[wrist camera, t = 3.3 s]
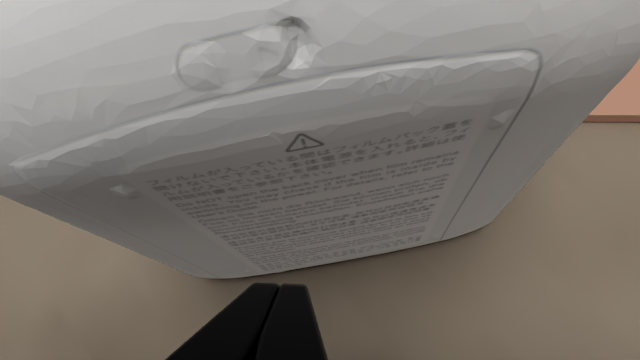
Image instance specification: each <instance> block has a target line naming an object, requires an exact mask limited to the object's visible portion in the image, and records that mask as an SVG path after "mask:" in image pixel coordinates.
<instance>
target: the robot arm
mask: <svg viewBox="0 0 640 360" xmlns="http://www.w3.org/2000/svg"><path fill="white" fill-rule="evenodd" d="M165 360H328V359H327V355H326V351H325V348H324V344H323V341H322V337H321V334H320V330H319V327H318V323H317V320H316V316H315V313H314V309H313V306H312V302H311V299H310V295H309V291H308V288H307V287H306V286H305V285H303V284H283V285H281V286H279V285H278V284H277V283H259V282H258V283H254V284H252V285H251V286H250V287H248V288H247V289H246V290H245V291H244V292H243V293H241V294H240V295H239V296H238V297H237V298H236V299H235V300H233V301H232V302H231V303H230V304H229V305H228V306H226V307H225V308H224V309H223V310H222V311H221V312H220V313H218V314H217V315H216V316H215V317H214V318H213V319H211V320H210V321H209V322H208V323H207V324H206V325H205V326H203V327H202V328H201V329H200V330H199V331H198V332H196V333H195V334H194V335H193V336H192V337H191V338H190V339H188V340H187V341H186V342H185V343H184V344H183V345H181V346H180V347H179V348H178V349H177V350H176V351H175V352H173V353H172V354H171V355H170V356H169V357H168V358H166V359H165Z"/></svg>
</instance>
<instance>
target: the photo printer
mask: <svg viewBox="0 0 640 360" xmlns="http://www.w3.org/2000/svg"><path fill="white" fill-rule="evenodd" d="M639 58H640V0H0V195H3V196H5V197H7V198H9V199H12V200H14V201H16V202H19V203H21V204H23V205H25V206H28V207H31V208H33V209H36V210H38V211H41V212H43V213H45V214H48V215H50V216H52V217H55V218H57V219H59V220H61V221H64V222H67V223H69V224H71V225H73V226H76V227H79V228H81V229H83V230H86V231H88V232H90V233H93V234H95V235H97V236H100V237H102V238H105V239H107V240H109V241H112V242H114V243H117V244H119V245H121V246H124V247H126V248H128V249H130V250H133V251H135V252H138V253H140V254H142V255H145V256H147V257H149V258H152V259H154V260H156V261H159V262H161V263H163V264H166V265H168V266H170V267H172V268H175V269H177V270H179V271H182V272H183V273H186V274H189V275H191V276H194V277H198V278H239V277H248V276H255V275H263V274H269V273H279V272H283V271H287V270H293V269H299V268H305V267H311V266H316V265H322V264H328V263H334V262H339V261H345V260H350V259H356V258H361V257H366V256H371V255H377V254H383V253H387V252H392V251H396V250H402V249H407V248H412V247H416V246H421V245H425V244H429V243H434V242H438V241H442V240H447V239H451V238H454V237H457V236H460V235H463V234H466V233H469V232H471V231H474V230H476V229H479V228H481V227H483V226H485V225H487V224H489V223H491V222H492V221H493V220H494V219H495V218H496V217H497V216H498V214H499V213H500V212H501V211H502V210H503V209H504V208H505V207H506V205H507V204H508V203H509V202H510V201H511V200H512V199H513V198H514V196H515V195H516V194H517V193H518V192H519V191H520V190H521V189H522V188H523V187H524V185H525V184H526V183H527V182H528V181H529V180H530V179H531V178H532V177H533V176H534V175H535V173H536V172H537V171H538V170H539V169H540V168H541V167H542V166H543V164H544V163H545V162H546V161H547V160H548V159H549V158H550V157H551V156H552V155H553V153H554V152H555V151H556V150H557V149H558V148H559V147H560V146H561V145H562V144H563V143H564V142H565V140H566V139H567V138H568V137H569V136H570V135H571V134H572V133H573V132H574V131H575V130H576V129H577V128H578V126H579V125H580V124H581V123H582V122H583V121H584V120H585V118H586V117H587V116H588V115H589V114H590V113H591V112H592V111H593V110H594V109H595V108H596V107H597V106H598V104H599V103H600V102H601V101H602V100H603V99H604V98H605V97H606V95H607V94H608V93H609V92H610V91H611V90H612V89H613V88H614V87H615V86H616V85H617V84H618V83H619V82H620V81H621V80H622V79H623V78H624V77H625V76H626V75H627V73H628V72H629V71H630V70H631V69H632V68H633V67H634V65H635V64H636V63H637V61H638V60H639Z"/></svg>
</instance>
